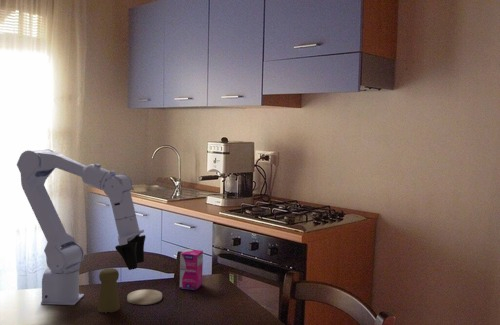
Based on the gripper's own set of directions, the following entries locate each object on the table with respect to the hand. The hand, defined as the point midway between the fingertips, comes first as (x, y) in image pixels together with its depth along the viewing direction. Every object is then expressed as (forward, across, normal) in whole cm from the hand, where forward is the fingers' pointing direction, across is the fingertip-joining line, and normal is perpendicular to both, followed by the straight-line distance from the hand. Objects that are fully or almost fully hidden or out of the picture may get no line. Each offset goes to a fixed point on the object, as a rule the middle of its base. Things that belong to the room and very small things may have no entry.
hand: (136, 265), depth 129 cm
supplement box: (+14, +20, -9) cm, 26 cm away
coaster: (+11, +8, +2) cm, 14 cm away
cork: (+10, 0, +10) cm, 14 cm away
